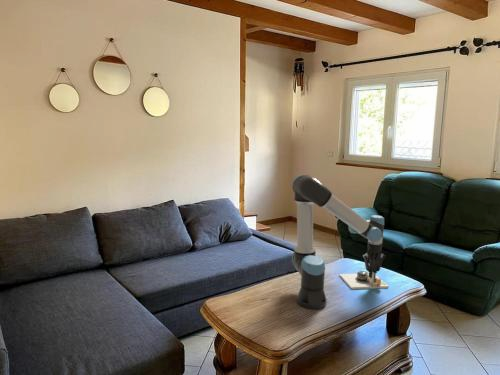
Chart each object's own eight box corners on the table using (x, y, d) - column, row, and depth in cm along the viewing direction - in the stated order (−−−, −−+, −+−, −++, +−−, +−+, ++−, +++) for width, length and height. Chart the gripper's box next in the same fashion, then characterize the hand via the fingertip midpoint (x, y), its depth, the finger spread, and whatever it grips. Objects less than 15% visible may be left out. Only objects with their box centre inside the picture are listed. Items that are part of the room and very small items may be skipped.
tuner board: (351, 289, 204) (351, 286, 204) (339, 275, 223) (339, 273, 223) (389, 287, 207) (389, 285, 207) (374, 274, 226) (374, 272, 225)
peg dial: (354, 278, 216) (354, 270, 215) (362, 275, 219) (363, 268, 219) (375, 287, 203) (375, 280, 202) (383, 285, 206) (384, 278, 206)
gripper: (367, 245, 199) (363, 285, 202) (389, 244, 201) (385, 285, 204) (361, 241, 206) (358, 280, 210) (382, 240, 208) (378, 279, 212)
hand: (371, 282), depth 207 cm, fingers closed
